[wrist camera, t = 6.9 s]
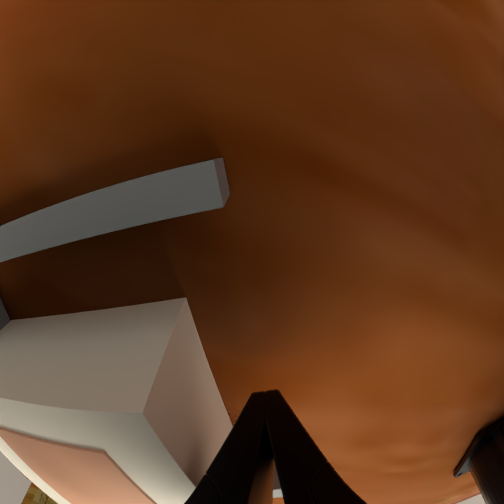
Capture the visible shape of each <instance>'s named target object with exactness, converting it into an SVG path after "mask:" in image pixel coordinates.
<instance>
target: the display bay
mask: <svg viewBox="0 0 504 504" xmlns="http://www.w3.org/2000/svg"><path fill="white" fill-rule="evenodd" d="M229 195H230V190H229V185H228V181H227V176H226V171H225V166H224V161H223V157H222V158H217V159H213V160H208V161H203V162H199V163H195V164H190V165H186V166H182V167H178V168H174V169H169V170H166V171H162V172H158V173H154V174H150V175H146V176H143V177H139V178H136V179H132V180H128V181H125V182H122V183H118V184H115V185H111V186H108V187H105V188H102V189H99V190H95V191H92V192H89V193H86V194H83V195H80V196H77V197H74V198H71V199H68V200H65V201H63V202H60V203H57V204H54V205H52V206H49V207H46V208H43V209H41V210H38V211H36V212H33V213H30V214H28V215H25V216H23V217H20V218H18V219H15V220H13V221H11V222H8V223H6V224H3V225H1V226H0V262H3V261H6V260H9V259H13V258H16V257H19V256H23V255H26V254H30V253H33V252H37V251H40V250H44V249H48V248H51V247H55V246H58V245H62V244H66V243H70V242H73V241H77V240H81V239H85V238H89V237H93V236H97V235H101V234H105V233H109V232H113V231H117V230H121V229H126V228H130V227H134V226H138V225H143V224H147V223H151V222H156V221H160V220H165V219H170V218H174V217H179V216H184V215H188V214H193V213H198V212H203V211H208V210H213V209H218V208H223V207H224V206H225V203H226V201H227V199H228V197H229ZM10 321H11V320H10V318H9V316H8V314H7V311H6V309H5V307H4V305H3V302H2V300H1V298H0V330H1V329H2V328H3V327H4V326H6V325H7V324H8V323H9V322H10ZM275 497H283V495H282V491H281V487H280V483H279V479H278V475H277V471H276V466H275V462H274V481H273V498H275Z"/></svg>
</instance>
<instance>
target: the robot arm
mask: <svg viewBox="0 0 504 504" xmlns="http://www.w3.org/2000/svg"><path fill="white" fill-rule="evenodd" d="M274 462H275V466H276V471H277V475H278V479H279V483H280V487H281V491H282V495H283V499H284V503H285V504H367V503H366V502H365V501H363V500H362V499H361V498H360V497H359V496H358V495H357V494H356V493H355V492H354V491H353V490H352V489H351V488H350V487H349V486H348V485H347V484H346V483H345V482H344V481H343V479H342V478H341V477H340V476H339V475H338V473H337V472H336V471H335V470H334V468H333V467H332V466H331V464H330V463H329V462H328V461H327V459H326V458H325V456H324V455H323V453H322V452H321V451H320V449H319V448H318V446H317V445H316V444H315V442H314V441H313V439H312V438H311V437H310V435H309V434H308V432H307V431H306V429H305V428H304V427H303V425H302V424H301V422H300V421H299V419H298V418H297V416H296V415H295V414H294V412H293V411H292V409H291V408H290V406H289V405H288V403H287V402H286V400H285V399H284V397H283V396H282V394H281V393H280V391H279V390H277V389H275V390H268V391H266V392H264V391H261V392H254V393H252V394H251V396H250V397H249V399H248V401H247V403H246V405H245V406H244V408H243V410H242V412H241V414H240V415H239V417H238V419H237V421H236V422H235V424H234V426H233V428H232V429H231V431H230V433H229V435H228V436H227V438H226V440H225V441H224V443H223V445H222V446H221V448H220V450H219V451H218V453H217V455H216V456H215V458H214V460H213V461H212V463H211V465H210V466H209V468H208V470H207V471H206V475H204V476H203V477H202V479H201V481H200V482H199V484H198V485H197V487H196V488H195V490H194V491H193V492H192V494H191V495H190V497H189V498H188V499H187V500H186V502H185V503H184V504H272V501H273V481H274ZM469 471H470V472H471V474H472V476H473V478H474V480H475V482H476V484H477V486H478V488H479V490H480V492H481V494H482V497H483V499H484V501H485V503H486V504H504V419H503V420H501V421H500V422H498V423H496V424H495V425H493V426H491V427H489V428H488V429H486V430H484V431H482V432H481V433H480V434H479V435H478V436H477V437H476V438H475V440H474V442H473V443H472V445H471V447H470V448H469V450H468V452H467V453H466V455H465V456H464V458H463V460H462V461H461V463H460V464H459V466H458V467H457V469H456V470H455V472H454V473H453V475H454V477H455V478H457V477H459V476H461V475H463V474H465V473H467V472H469Z"/></svg>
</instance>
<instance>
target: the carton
mask: <svg viewBox="0 0 504 504" xmlns="http://www.w3.org/2000/svg"><path fill="white" fill-rule="evenodd" d="M232 428H233V426H232V423H231V421H230V418H229V416H228V413H227V411H226V408H225V406H224V403H223V401H222V398H221V396H220V393H219V390H218V388H217V385H216V382H215V380H214V377H213V374H212V372H211V369H210V366H209V364H208V361H207V358H206V355H205V352H204V350H203V347H202V344H201V341H200V338H199V335H198V332H197V329H196V326H195V323H194V320H193V317H192V314H191V311H190V308H189V305H188V302H187V298H186V297H185V298H179V299H172V300H166V301H159V302H152V303H146V304H139V305H132V306H124V307H117V308H110V309H102V310H95V311H87V312H79V313H71V314H62V315H54V316H45V317H36V318H27V319H17V320H11V321H10V322H9V323H8V324H7V325H6V326H4V327H3V328H2V329H1V330H0V451H1V452H2V453H3V454H4V455H5V456H6V457H7V458H8V459H9V460H10V461H11V462H12V463H13V464H14V465H15V466H16V467H17V468H18V469H19V470H20V471H21V472H22V473H23V474H24V475H25V476H26V477H27V478H28V479H29V480H31V481H32V482H33V483H34V484H35V485H36V486H37V487H38V488H40V489H41V490H42V491H43V492H44V493H46V494H47V495H48V496H49V497H50V498H52V499H53V500H54V501H55V502H57V503H58V504H184V503H185V502H186V500H187V499H188V498H189V497H190V495H191V494H192V492H193V491H194V490H195V488H196V487H197V485H198V484H199V482H200V481H201V479H202V477H203V476H204V475H206V471H207V470H208V468H209V466H210V465H211V463H212V461H213V460H214V458H215V456H216V455H217V453H218V451H219V450H220V448H221V446H222V445H223V443H224V441H225V440H226V438H227V436H228V435H229V433H230V431H231V429H232Z"/></svg>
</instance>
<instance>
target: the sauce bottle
mask: <svg viewBox="0 0 504 504" xmlns="http://www.w3.org/2000/svg"><path fill="white" fill-rule="evenodd" d="M21 504H58V503H57V502H55V501H54V500H53V499H52V498H50V497H49V496H48V495H47V494H46V493H44V492H43V491H42V490H41V489H40V488H38V487H37V486H36V485H35V484H34V483H33V482H32V483H31V485H30V487H29V489H28V491H27V493H26V495H25V497H24V499H23V502H22V503H21Z"/></svg>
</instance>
